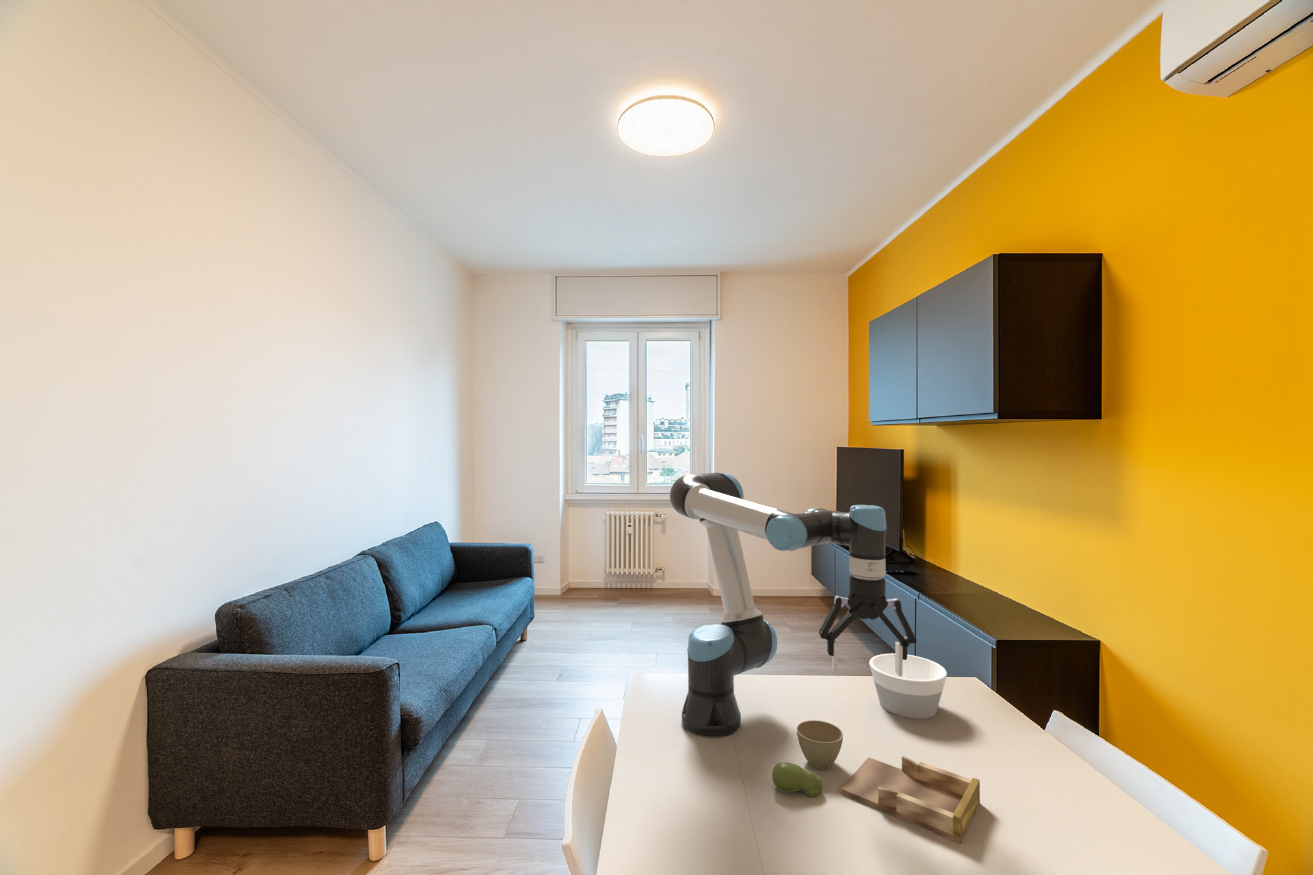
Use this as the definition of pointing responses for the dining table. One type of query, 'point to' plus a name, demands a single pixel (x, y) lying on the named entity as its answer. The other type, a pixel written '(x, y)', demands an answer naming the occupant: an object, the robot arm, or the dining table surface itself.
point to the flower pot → (819, 742)
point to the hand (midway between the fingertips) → (866, 671)
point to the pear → (796, 779)
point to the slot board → (918, 795)
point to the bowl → (908, 685)
